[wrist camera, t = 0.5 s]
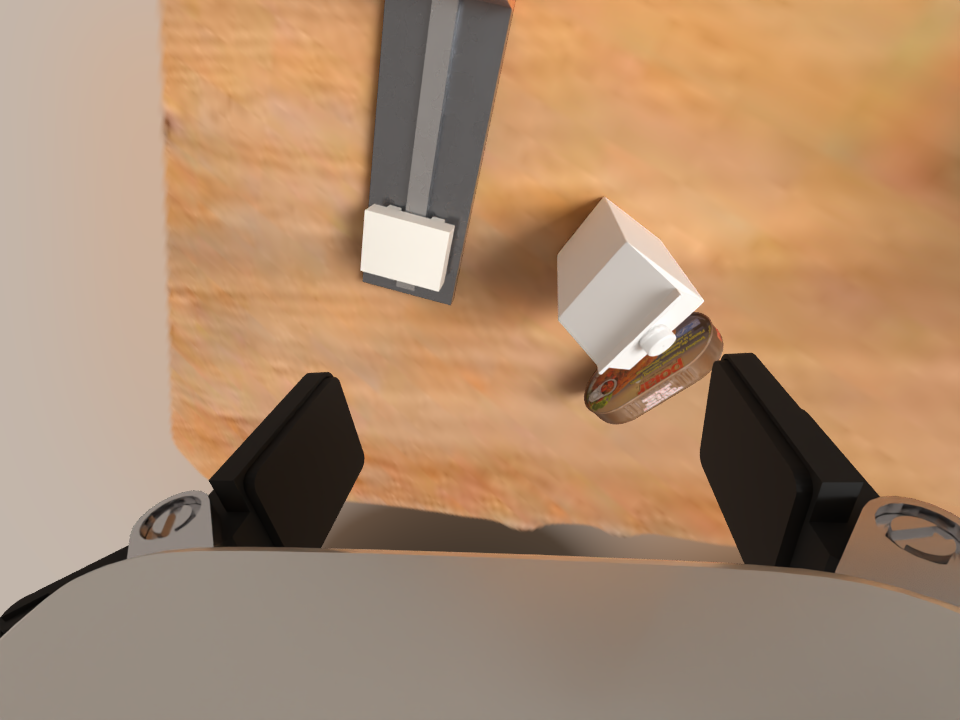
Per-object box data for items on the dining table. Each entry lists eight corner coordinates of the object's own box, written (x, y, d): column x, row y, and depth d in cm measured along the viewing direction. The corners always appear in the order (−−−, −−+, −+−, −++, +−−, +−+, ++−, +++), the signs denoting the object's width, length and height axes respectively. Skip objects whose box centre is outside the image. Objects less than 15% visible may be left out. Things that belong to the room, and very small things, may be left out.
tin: (695, 298, 45) (721, 337, 38) (712, 319, 46) (741, 360, 39) (580, 377, 52) (584, 423, 45) (597, 394, 53) (603, 441, 46)
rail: (395, -54, 34) (373, -74, 30) (519, -21, 34) (515, -37, 30) (367, 276, 49) (350, 294, 45) (453, 299, 49) (443, 319, 45)
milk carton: (556, 254, 45) (557, 346, 29) (604, 195, 41) (635, 261, 25) (609, 293, 46) (639, 401, 30) (660, 239, 42) (725, 328, 26)
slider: (378, 201, 43) (364, 209, 40) (457, 222, 43) (449, 232, 40) (372, 259, 46) (360, 270, 43) (446, 278, 46) (438, 291, 43)
